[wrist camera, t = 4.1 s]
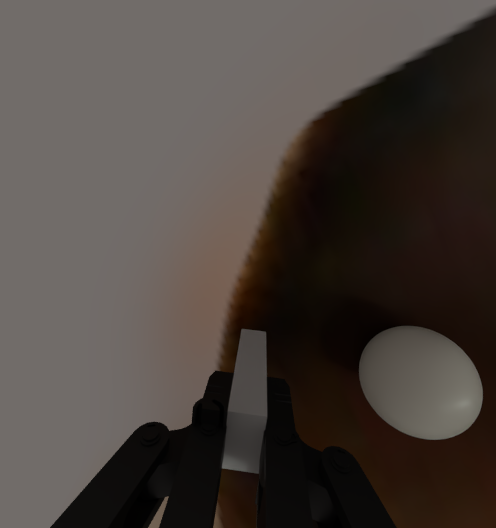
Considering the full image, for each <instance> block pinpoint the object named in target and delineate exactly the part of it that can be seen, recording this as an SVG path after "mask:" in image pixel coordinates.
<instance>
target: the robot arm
mask: <svg viewBox="0 0 496 528" xmlns="http://www.w3.org/2000/svg"><path fill="white" fill-rule="evenodd" d="M222 468H224V469H231V470H238V471H245V472H252V473H258V474H259V482H258V488H257V495H256V501H255V504H257V528H396V526H395V524H394V523H393V521H392V519H391V518H390V516H389V514H388V513H387V511H386V509H385V508H384V506H383V504H382V502H381V501H380V499H379V497H378V496H377V494H376V492H375V491H374V489H373V487H372V485H371V484H370V482H369V480H368V479H367V477H366V475H365V474H364V472H363V470H362V469H361V467H360V465H359V463H358V462H357V460H356V459H355V458H354V457H353V455H351V454H350V453H349V452H348V451H346V450H345V449H342V448H340V447H335V446H330V447H327V448H325V449H324V451H323V452H321V451H318V450H316V449H314V448H312V447H310V446H308V445H306V444H305V443H304V442H303V441H302V440H301V439H300V438H299V435H298V434H297V432H296V430H295V424H294V417H293V410H292V403H291V396H290V388H289V386H288V384H287V383H286V381H285V380H284V379H278V378H271V377H267V367H266V332H263V331H256V330H248V329H242V330H241V336H240V342H239V348H238V353H237V359H236V365H235V371H234V373H229V372H221V371H215V372H214V373H213V374H212V375H211V376H210V377H209V380H208V383H207V386H206V390H205V393H204V396H203V398H202V399H200V400H199V401H197V402H196V403H195V405H194V406H193V414H192V424H191V425H189V426H187V427H186V428H183V429H179V430H172V431H169V430H168V428H167V426H165V425H164V424H162V423H158V422H150V423H146V424H144V425H142V426H140V427H139V428H138V429H137V430H135V431H134V432H133V434H132V435H131V436H130V437H129V438H128V439H127V441H126V442H125V443H124V444H123V445H122V446H121V447H120V448H119V450H118V451H117V452H116V453H115V454H114V455H113V457H112V458H111V459H110V460H109V461H108V462H107V463H106V464H105V466H104V467H103V468H102V469H101V470H100V471H99V473H98V474H97V475H96V476H95V477H94V478H93V479H92V480H91V482H90V483H89V484H88V485H87V486H86V487H85V489H84V490H83V491H82V492H81V493H80V494H79V495H78V496H77V498H76V499H75V500H74V501H73V502H72V503H71V504H70V506H69V507H68V508H67V509H66V510H65V511H64V512H63V514H62V515H61V516H60V517H59V518H58V519H57V520H56V521H55V523H54V524H53V525H52V526H51V527H50V528H148V527H149V525H150V523H151V521H152V520H153V518H154V516H155V514H156V512H157V511H158V509H159V507H160V506H161V504H162V502H163V500H164V498H165V497H167V496H169V498H168V501H167V505H166V508H165V511H164V514H163V517H162V520H161V523H160V527H159V528H213V525H214V518H215V512H216V505H217V499H218V492H219V486H220V477H221V470H222Z"/></svg>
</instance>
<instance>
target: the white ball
mask: <svg viewBox="0 0 496 528" xmlns="http://www.w3.org/2000/svg"><path fill="white" fill-rule="evenodd" d="M359 378H360V383H361V387H362V390H363V392H364V395H365V397H366V399H367V400H368V402H369V404H370V405H371V407H372V408H373V409H374V410H375V412H376V413H377V414H378V415H379V416H380V417H381V418H382V419H383V420H385V421H386V422H387V423H388V424H389V425H391V426H393V427H394V428H396V429H397V430H399V431H401V432H403V433H405V434H408V435H410V436H413V437H417V438H422V439H428V440H439V439H447V438H451V437H454V436H456V435H459V434H461V433H462V432H464V431H465V430H467V429H468V428H469V427H470V426H471V425H472V424H473V423H474V421H475V420H476V418H477V417H478V415H479V413H480V410H481V406H482V400H483V391H482V384H481V380H480V377H479V374H478V372H477V370H476V368H475V366H474V364H473V363H472V361H471V359H470V358H469V357H468V356H467V355H466V353H465V352H464V351H463V350H462V349H461V348H460V347H459V346H458V345H456V344H455V343H454V342H453V341H451V340H450V339H448V338H447V337H445V336H443V335H441V334H439V333H437V332H435V331H433V330H430V329H426V328H422V327H417V326H398V327H393V328H390V329H387V330H385V331H382V332H381V333H379V334H377V335H376V336H375V337H373V338H372V339H371V340H370V341H369V343H368V344H367V345H366V347H365V348H364V350H363V352H362V355H361V358H360V363H359Z"/></svg>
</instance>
